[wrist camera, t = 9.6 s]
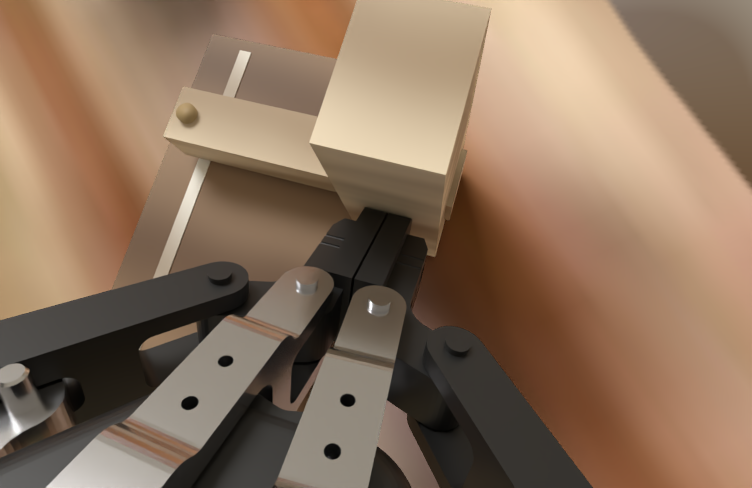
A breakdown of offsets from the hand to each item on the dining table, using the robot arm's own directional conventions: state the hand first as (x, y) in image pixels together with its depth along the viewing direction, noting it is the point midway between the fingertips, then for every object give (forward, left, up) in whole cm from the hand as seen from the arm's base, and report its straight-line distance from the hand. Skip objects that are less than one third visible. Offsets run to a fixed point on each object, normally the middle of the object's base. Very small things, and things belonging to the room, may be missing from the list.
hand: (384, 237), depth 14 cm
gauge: (-1, +4, -4) cm, 6 cm away
